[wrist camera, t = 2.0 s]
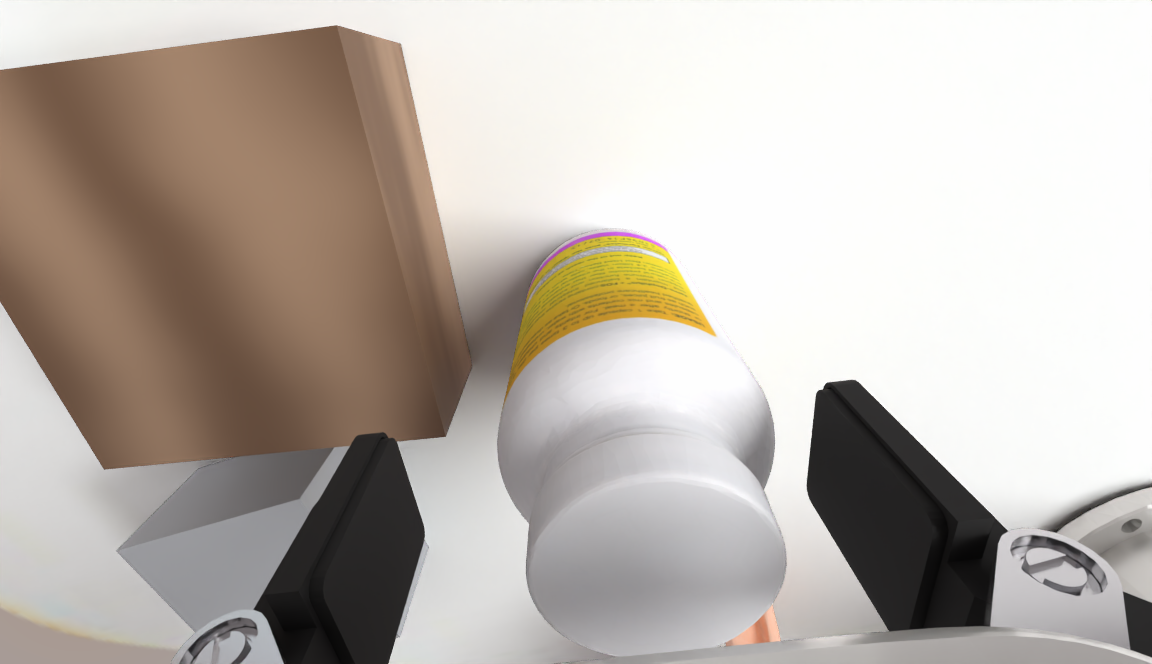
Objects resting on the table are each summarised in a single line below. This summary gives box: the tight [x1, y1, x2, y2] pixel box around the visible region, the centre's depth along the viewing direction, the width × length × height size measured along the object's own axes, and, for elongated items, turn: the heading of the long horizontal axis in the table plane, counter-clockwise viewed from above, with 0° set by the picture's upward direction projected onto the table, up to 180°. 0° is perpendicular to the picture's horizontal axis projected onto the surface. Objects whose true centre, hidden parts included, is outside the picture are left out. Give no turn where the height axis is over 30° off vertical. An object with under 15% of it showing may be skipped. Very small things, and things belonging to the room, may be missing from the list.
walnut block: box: [0, 25, 472, 469], centre depth 17 cm, size 12×12×5 cm
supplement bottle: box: [497, 228, 786, 657], centre depth 15 cm, size 7×7×13 cm
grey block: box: [117, 446, 429, 638], centre depth 23 cm, size 8×8×5 cm
